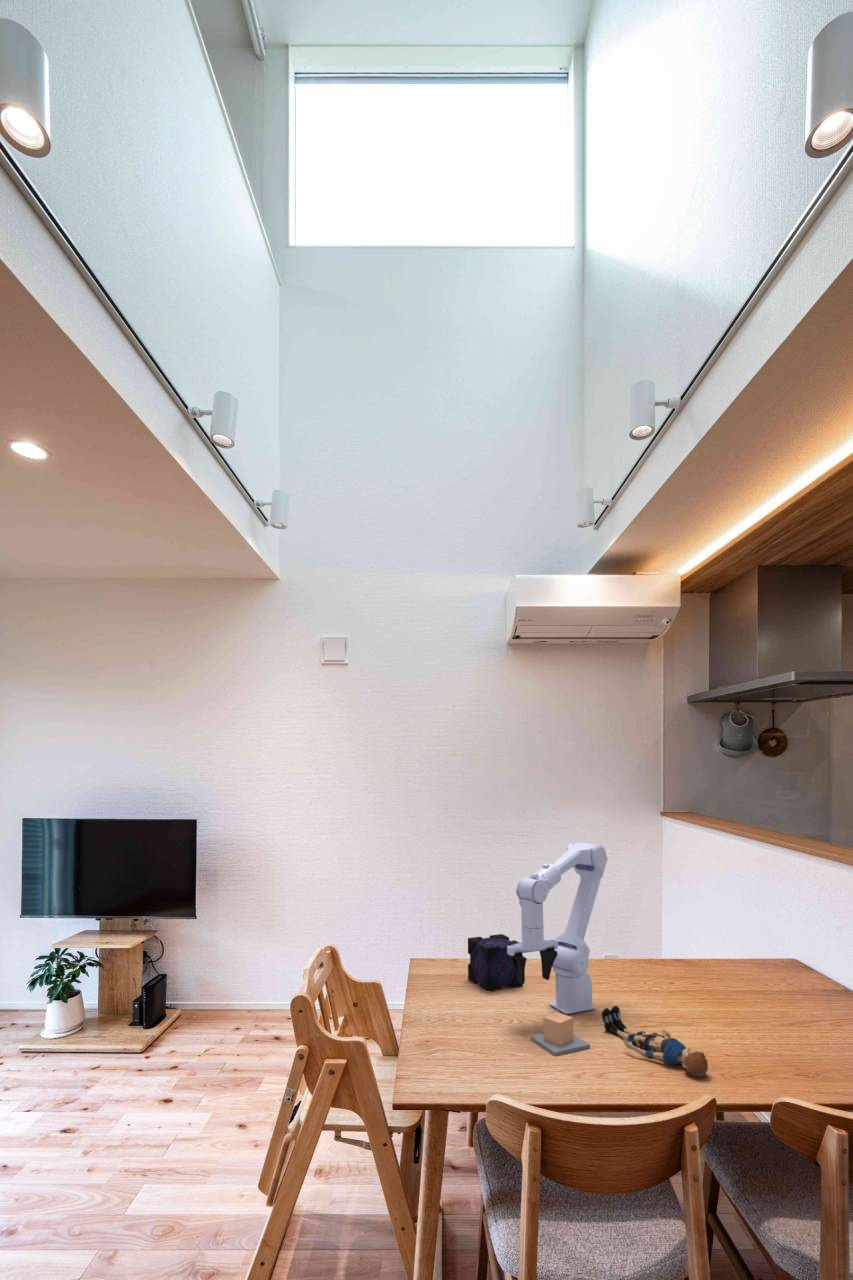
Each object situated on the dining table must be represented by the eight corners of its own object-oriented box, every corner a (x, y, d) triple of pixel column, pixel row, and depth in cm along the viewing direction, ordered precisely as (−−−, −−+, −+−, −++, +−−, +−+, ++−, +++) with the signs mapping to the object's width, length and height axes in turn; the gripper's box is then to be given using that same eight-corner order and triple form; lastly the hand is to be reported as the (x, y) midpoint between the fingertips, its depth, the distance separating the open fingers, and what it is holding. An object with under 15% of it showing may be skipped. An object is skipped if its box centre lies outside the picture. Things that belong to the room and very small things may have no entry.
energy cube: (486, 992, 205) (486, 948, 206) (468, 979, 216) (467, 938, 217) (522, 986, 209) (522, 943, 211) (502, 974, 220) (502, 933, 222)
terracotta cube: (556, 1033, 174) (555, 1011, 174) (573, 1039, 170) (572, 1017, 171) (543, 1039, 170) (543, 1017, 171) (560, 1045, 167) (560, 1023, 167)
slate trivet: (564, 1032, 176) (564, 1028, 176) (590, 1048, 167) (590, 1044, 167) (530, 1039, 172) (530, 1036, 172) (555, 1055, 163) (554, 1052, 163)
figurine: (629, 1001, 182) (724, 1042, 156) (631, 1027, 181) (726, 1073, 155) (588, 1011, 176) (680, 1055, 150) (590, 1038, 176) (682, 1087, 149)
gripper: (546, 919, 193) (547, 972, 191) (500, 925, 187) (501, 980, 185) (562, 925, 187) (563, 980, 185) (515, 932, 181) (516, 988, 179)
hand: (533, 980), depth 184 cm, fingers open, 7 cm apart
